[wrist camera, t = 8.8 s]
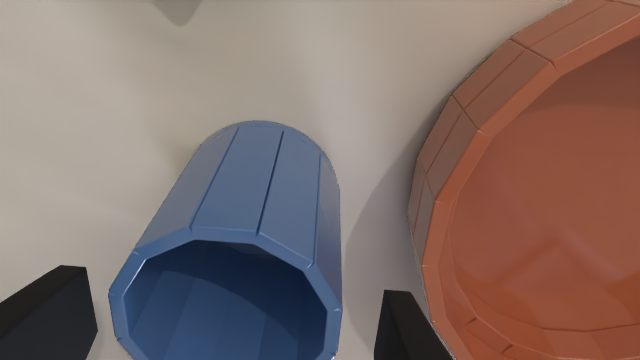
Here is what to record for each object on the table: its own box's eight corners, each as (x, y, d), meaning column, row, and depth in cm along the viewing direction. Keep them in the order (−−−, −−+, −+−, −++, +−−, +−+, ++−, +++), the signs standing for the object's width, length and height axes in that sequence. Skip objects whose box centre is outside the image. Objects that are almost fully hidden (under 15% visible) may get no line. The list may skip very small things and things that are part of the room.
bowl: (717, 353, 20) (790, 431, 17) (382, 329, 20) (392, 403, 16) (944, -6, 13) (1129, 12, 10) (449, -46, 13) (485, -41, 10)
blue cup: (331, 257, 18) (330, 409, 12) (191, 247, 18) (124, 394, 12) (344, 126, 16) (351, 238, 10) (183, 113, 16) (94, 218, 10)
